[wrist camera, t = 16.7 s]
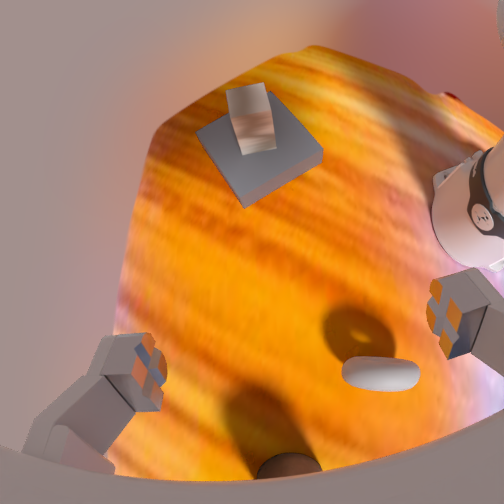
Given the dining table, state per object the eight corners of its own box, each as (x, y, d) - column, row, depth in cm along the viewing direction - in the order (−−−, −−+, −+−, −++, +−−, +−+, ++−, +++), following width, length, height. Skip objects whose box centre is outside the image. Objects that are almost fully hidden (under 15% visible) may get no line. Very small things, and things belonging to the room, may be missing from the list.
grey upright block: (270, 122, 45) (263, 82, 36) (276, 148, 44) (271, 109, 35) (237, 128, 46) (225, 90, 37) (242, 155, 44) (230, 118, 36)
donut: (334, 377, 39) (345, 392, 29) (338, 353, 40) (350, 360, 30) (403, 381, 37) (430, 393, 28) (406, 357, 38) (435, 363, 29)
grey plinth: (272, 105, 50) (270, 91, 47) (321, 162, 47) (323, 148, 43) (201, 145, 50) (195, 132, 46) (244, 208, 47) (239, 198, 43)
